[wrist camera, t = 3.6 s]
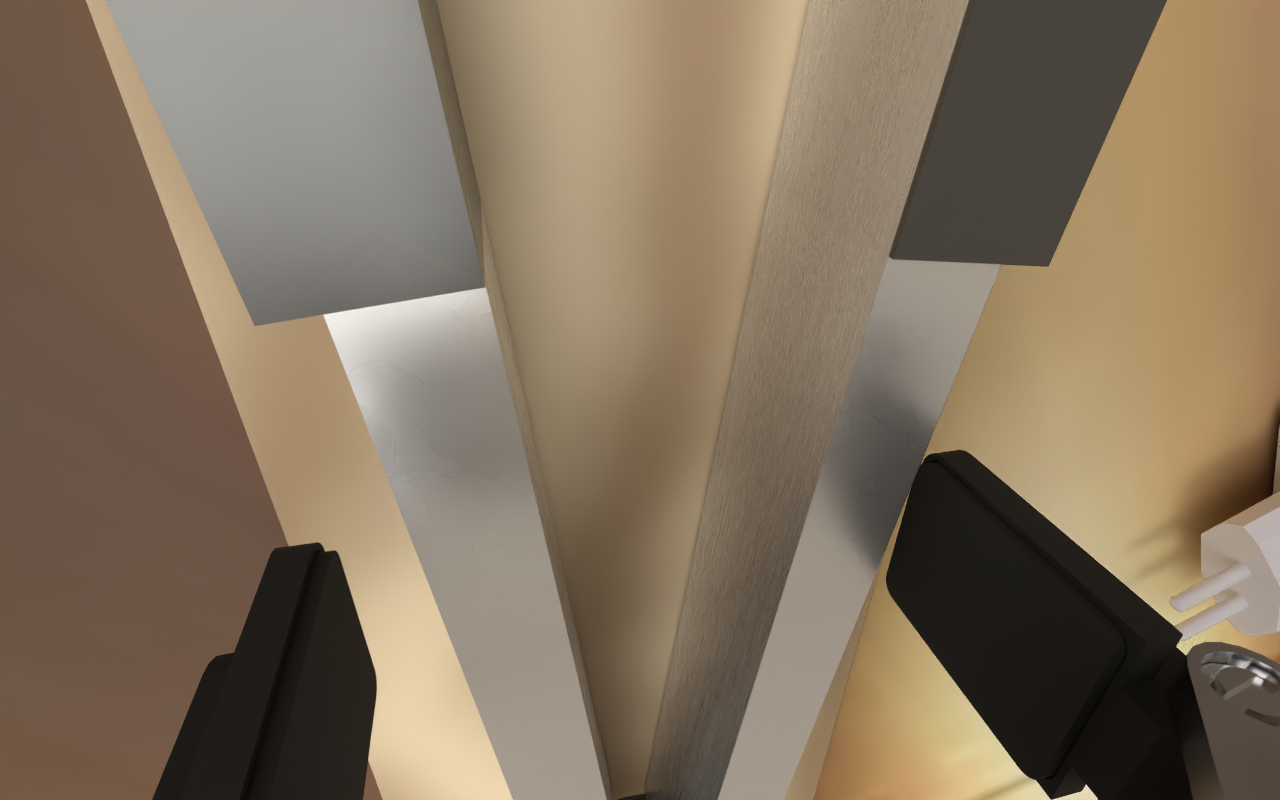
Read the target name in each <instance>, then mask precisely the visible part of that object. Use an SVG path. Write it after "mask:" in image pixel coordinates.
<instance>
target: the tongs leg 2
mask: <svg viewBox="0 0 1280 800" xmlns="http://www.w3.org/2000/svg"><path fill="white" fill-rule="evenodd" d="M1166 1H1167V0H809V5H808V10H807V14H806V19H805V24H804V29H803V34H802V38H801V43H800V48H799V53H798V58H797V62H796V67H795V72H794V77H793V82H792V86H791V91H790V96H789V101H788V105H787V110H786V115H785V120H784V125H783V129H782V134H781V139H780V144H779V149H778V153H777V158H776V163H775V168H774V173H773V177H772V182H771V187H770V192H769V197H768V201H767V206H766V211H765V216H764V221H763V225H762V230H761V235H760V240H759V245H758V249H757V254H756V259H755V264H754V268H753V273H752V278H751V283H750V288H749V292H748V297H747V302H746V307H745V312H744V316H743V321H742V326H741V331H740V336H739V340H738V345H737V350H736V355H735V360H734V364H733V369H732V374H731V379H730V384H729V388H728V393H727V398H726V403H725V407H724V412H723V417H722V422H721V427H720V431H719V436H718V441H717V446H716V451H715V455H714V460H713V465H712V470H711V475H710V479H709V484H708V489H707V494H706V499H705V503H704V508H703V513H702V518H701V523H700V527H699V532H698V537H697V542H696V546H695V551H694V556H693V561H692V566H691V570H690V575H689V580H688V585H687V590H686V594H685V599H684V604H683V609H682V614H681V618H680V623H679V628H678V633H677V638H676V642H675V647H674V652H673V657H672V662H671V666H670V671H669V676H668V681H667V685H666V690H665V695H664V700H663V705H662V709H661V714H660V719H659V724H658V729H657V733H656V738H655V743H654V748H653V753H652V757H651V762H650V767H649V772H648V777H647V781H646V786H645V791H644V792H645V796H646V800H784V798H785V795H786V793H787V790H788V788H789V786H790V783H791V781H792V778H793V776H794V773H795V771H796V768H797V766H798V763H799V761H800V759H801V756H802V754H803V751H804V749H805V746H806V744H807V741H808V739H809V736H810V734H811V731H812V729H813V727H814V724H815V722H816V719H817V717H818V714H819V712H820V709H821V707H822V704H823V702H824V700H825V697H826V695H827V692H828V690H829V687H830V685H831V682H832V680H833V677H834V675H835V672H836V670H837V668H838V665H839V663H840V660H841V658H842V655H843V653H844V650H845V648H846V645H847V643H848V641H849V638H850V636H851V633H852V631H853V628H854V626H855V623H856V621H857V618H858V616H859V614H860V611H861V609H862V606H863V604H864V601H865V599H866V596H867V594H868V591H869V589H870V586H871V584H872V582H873V579H874V577H875V574H876V572H877V569H878V567H879V564H880V562H881V559H882V557H883V555H884V552H885V550H886V547H887V545H888V542H889V540H890V537H891V535H892V532H893V530H894V527H895V525H896V523H897V520H898V518H899V515H900V513H901V510H902V508H903V505H904V503H905V500H906V498H907V496H908V493H909V491H910V488H911V486H912V483H913V481H914V478H915V476H916V473H917V471H918V468H919V466H920V464H921V461H922V459H923V456H924V454H925V451H926V449H927V446H928V444H929V441H930V439H931V437H932V434H933V432H934V429H935V427H936V424H937V422H938V419H939V417H940V414H941V412H942V410H943V407H944V405H945V402H946V400H947V397H948V395H949V392H950V390H951V387H952V385H953V382H954V380H955V378H956V375H957V373H958V370H959V368H960V365H961V363H962V360H963V358H964V355H965V353H966V351H967V348H968V346H969V343H970V341H971V338H972V336H973V333H974V331H975V328H976V326H977V323H978V321H979V319H980V316H981V314H982V311H983V309H984V306H985V304H986V301H987V299H988V296H989V294H990V292H991V289H992V287H993V284H994V282H995V279H996V277H997V274H998V272H999V269H1000V267H1001V265H1002V264H1003V265H1025V266H1047V267H1048V266H1049V264H1050V262H1051V260H1052V257H1053V255H1054V253H1055V251H1056V248H1057V246H1058V244H1059V242H1060V239H1061V237H1062V235H1063V233H1064V230H1065V228H1066V226H1067V224H1068V221H1069V219H1070V217H1071V215H1072V212H1073V210H1074V208H1075V206H1076V203H1077V201H1078V199H1079V197H1080V194H1081V192H1082V190H1083V188H1084V185H1085V183H1086V181H1087V179H1088V176H1089V174H1090V172H1091V170H1092V167H1093V165H1094V163H1095V161H1096V158H1097V156H1098V154H1099V152H1100V150H1101V147H1102V145H1103V143H1104V141H1105V138H1106V136H1107V134H1108V132H1109V129H1110V127H1111V125H1112V123H1113V120H1114V118H1115V116H1116V114H1117V111H1118V109H1119V107H1120V105H1121V102H1122V100H1123V98H1124V96H1125V93H1126V91H1127V89H1128V87H1129V84H1130V82H1131V80H1132V78H1133V75H1134V73H1135V71H1136V69H1137V66H1138V64H1139V62H1140V60H1141V57H1142V55H1143V53H1144V51H1145V48H1146V46H1147V44H1148V42H1149V39H1150V37H1151V35H1152V33H1153V30H1154V28H1155V26H1156V24H1157V21H1158V19H1159V17H1160V15H1161V12H1162V10H1163V8H1164V6H1165V4H1166Z"/></svg>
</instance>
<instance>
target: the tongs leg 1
mask: <svg viewBox="0 0 1280 800" xmlns="http://www.w3.org/2000/svg"><path fill="white" fill-rule="evenodd" d="M105 1H106V4H107V6H108V8H109V10H110V12H111V14H112V17H113V19H114V21H115V23H116V25H117V28H118V30H119V32H120V34H121V36H122V38H123V41H124V43H125V45H126V47H127V49H128V51H129V54H130V56H131V58H132V60H133V62H134V65H135V67H136V69H137V71H138V73H139V75H140V78H141V80H142V82H143V84H144V86H145V88H146V91H147V93H148V95H149V97H150V99H151V102H152V104H153V106H154V108H155V110H156V112H157V115H158V117H159V119H160V121H161V123H162V126H163V128H164V130H165V132H166V134H167V136H168V139H169V141H170V143H171V145H172V147H173V149H174V152H175V154H176V156H177V158H178V160H179V163H180V165H181V167H182V169H183V171H184V173H185V176H186V178H187V180H188V182H189V184H190V186H191V189H192V191H193V193H194V195H195V197H196V200H197V202H198V204H199V206H200V208H201V210H202V213H203V215H204V217H205V219H206V221H207V224H208V226H209V228H210V230H211V232H212V234H213V237H214V239H215V241H216V243H217V245H218V247H219V250H220V252H221V254H222V256H223V258H224V261H225V263H226V265H227V267H228V269H229V271H230V274H231V276H232V278H233V280H234V282H235V284H236V287H237V289H238V291H239V293H240V295H241V298H242V300H243V302H244V304H245V306H246V308H247V311H248V313H249V315H250V317H251V319H252V321H253V324H254V326H259V325H265V324H271V323H277V322H283V321H289V320H294V319H300V318H306V317H312V316H318V315H324V318H325V321H326V323H327V326H328V328H329V331H330V333H331V336H332V338H333V341H334V344H335V346H336V349H337V351H338V354H339V356H340V359H341V361H342V364H343V367H344V369H345V372H346V374H347V377H348V379H349V382H350V384H351V387H352V390H353V392H354V395H355V397H356V400H357V402H358V405H359V407H360V410H361V413H362V415H363V418H364V420H365V423H366V425H367V428H368V430H369V433H370V436H371V438H372V441H373V443H374V446H375V448H376V451H377V453H378V456H379V459H380V461H381V464H382V466H383V469H384V471H385V474H386V476H387V479H388V482H389V484H390V487H391V489H392V492H393V494H394V497H395V499H396V502H397V505H398V507H399V510H400V512H401V515H402V517H403V520H404V522H405V525H406V528H407V530H408V533H409V535H410V538H411V540H412V543H413V545H414V548H415V551H416V553H417V556H418V558H419V561H420V563H421V566H422V568H423V571H424V574H425V576H426V579H427V581H428V584H429V586H430V589H431V591H432V594H433V597H434V599H435V602H436V604H437V607H438V609H439V612H440V614H441V617H442V620H443V622H444V625H445V627H446V630H447V632H448V635H449V638H450V640H451V643H452V645H453V648H454V650H455V653H456V655H457V658H458V661H459V663H460V666H461V668H462V671H463V673H464V676H465V678H466V681H467V684H468V686H469V689H470V691H471V694H472V696H473V699H474V701H475V704H476V707H477V709H478V712H479V714H480V717H481V719H482V722H483V724H484V727H485V730H486V732H487V735H488V737H489V740H490V742H491V745H492V747H493V750H494V753H495V755H496V758H497V760H498V763H499V765H500V768H501V770H502V773H503V776H504V778H505V781H506V783H507V786H508V788H509V791H510V793H511V796H512V799H513V800H614V796H613V792H612V787H611V783H610V778H609V774H608V769H607V765H606V760H605V756H604V751H603V747H602V742H601V738H600V733H599V729H598V724H597V720H596V715H595V711H594V706H593V702H592V697H591V693H590V688H589V684H588V679H587V675H586V670H585V666H584V661H583V657H582V652H581V648H580V643H579V639H578V634H577V630H576V625H575V621H574V617H573V612H572V608H571V603H570V599H569V594H568V590H567V585H566V581H565V576H564V572H563V567H562V563H561V558H560V554H559V549H558V545H557V540H556V536H555V531H554V527H553V522H552V518H551V513H550V509H549V504H548V500H547V495H546V491H545V486H544V482H543V477H542V473H541V468H540V464H539V459H538V455H537V450H536V446H535V441H534V437H533V432H532V428H531V423H530V419H529V414H528V410H527V405H526V401H525V396H524V392H523V387H522V383H521V378H520V374H519V369H518V365H517V360H516V356H515V351H514V347H513V342H512V338H511V333H510V329H509V324H508V320H507V315H506V311H505V306H504V302H503V297H502V293H501V288H500V284H499V279H498V275H497V271H496V266H495V262H494V257H493V253H492V248H491V244H490V239H489V235H488V230H487V226H486V221H485V217H484V212H483V208H482V203H481V199H480V194H479V190H478V185H477V181H476V176H475V172H474V167H473V163H472V158H471V154H470V149H469V145H468V140H467V136H466V131H465V127H464V122H463V118H462V113H461V109H460V104H459V100H458V95H457V91H456V86H455V82H454V77H453V73H452V68H451V64H450V59H449V55H448V50H447V46H446V41H445V37H444V32H443V28H442V23H441V19H440V14H439V10H438V5H437V1H436V0H105Z"/></svg>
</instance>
